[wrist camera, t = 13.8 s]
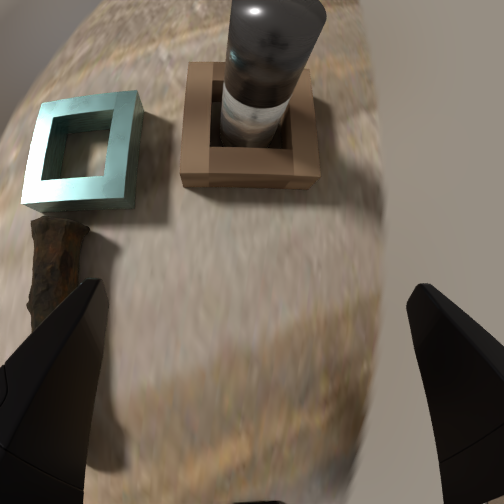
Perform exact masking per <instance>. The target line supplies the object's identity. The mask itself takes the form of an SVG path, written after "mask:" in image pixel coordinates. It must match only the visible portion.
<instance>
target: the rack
mask: <svg viewBox="0 0 504 504" xmlns="http://www.w3.org/2000/svg"><path fill="white" fill-rule="evenodd" d="M225 63H226V62H189V65H188V74H187V83H186V93H185V104H184V116H183V129H182V143H181V159H180V176H181V180H182V184H183V187H237V188H278V189H303V190H308V189H309V188H310V187H311V186H312V185H313V184H314V183H315V182H316V181H317V180H318V179H319V178H320V177H321V173H320V161H319V149H318V139H317V129H316V120H315V111H314V102H313V94H312V86H311V78H310V71H309V69H303V71H302V74H301V76H300V78H299V80H298V82H297V85H296V87H295V89H294V91H293V93H292V96H291V98H290V100H289V102H288V105H287V107H286V109H285V111H284V114H283V116H282V118H281V120H280V121H281V138H282V149H269V148H244V147H210V126H211V103H212V102H222V96H223V84H224V73H225Z"/></svg>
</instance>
